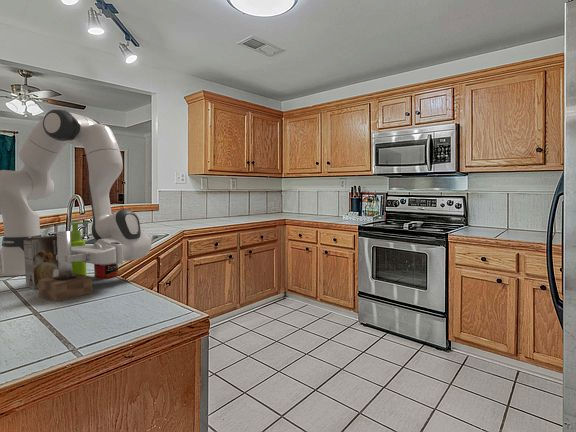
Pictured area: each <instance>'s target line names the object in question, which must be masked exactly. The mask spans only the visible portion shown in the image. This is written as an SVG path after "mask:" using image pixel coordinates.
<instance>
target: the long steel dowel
mask: <svg viewBox="0 0 576 432" xmlns="http://www.w3.org/2000/svg"><path fill="white" fill-rule="evenodd" d="M71 231H72V230H71ZM71 231H70V230H61V231H57V232H56V236H57V246H58V268H59V281H64V280H69V279H73V277H72V262H66V261H65V256H69V255H72V254H71Z"/></svg>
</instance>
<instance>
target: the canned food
mask: <svg viewBox="0 0 576 432" xmlns="http://www.w3.org/2000/svg"><path fill="white" fill-rule="evenodd" d="M93 268H94V269H93V270H94V272H93V273H94V277H95V279H96V280H106V279H107V280H108V279H113V278H116V277H118V276H119V264H111V265H105V266H101V265H99V264H93Z"/></svg>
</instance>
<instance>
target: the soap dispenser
mask: <svg viewBox="0 0 576 432" xmlns="http://www.w3.org/2000/svg"><path fill="white" fill-rule="evenodd" d="M69 225H70V226H71V227H72V230H71V247H73V246H86V240H84V239H82V231H80V230H79V225H88V222H85V221H84V222H83V221H76V222H69ZM72 273H75V274H80V275H85V276H87V263H85V262H79V261H76V262H72Z"/></svg>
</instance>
